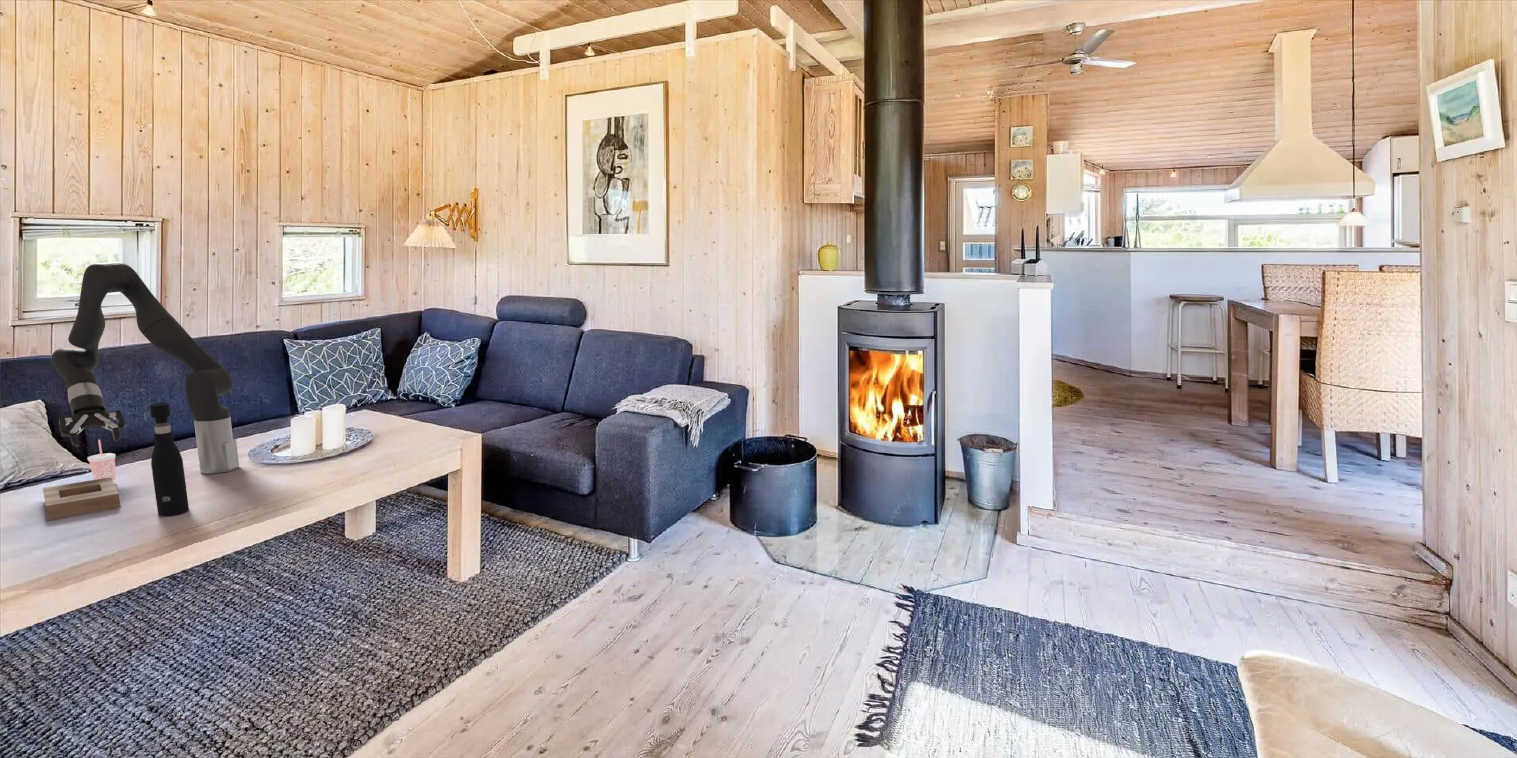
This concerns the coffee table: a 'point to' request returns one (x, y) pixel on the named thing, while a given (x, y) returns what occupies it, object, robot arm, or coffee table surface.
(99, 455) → the beverage cup
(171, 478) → the black water bottle
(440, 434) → the coffee table surface
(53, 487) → the wooden cup holder
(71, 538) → the coffee table surface
